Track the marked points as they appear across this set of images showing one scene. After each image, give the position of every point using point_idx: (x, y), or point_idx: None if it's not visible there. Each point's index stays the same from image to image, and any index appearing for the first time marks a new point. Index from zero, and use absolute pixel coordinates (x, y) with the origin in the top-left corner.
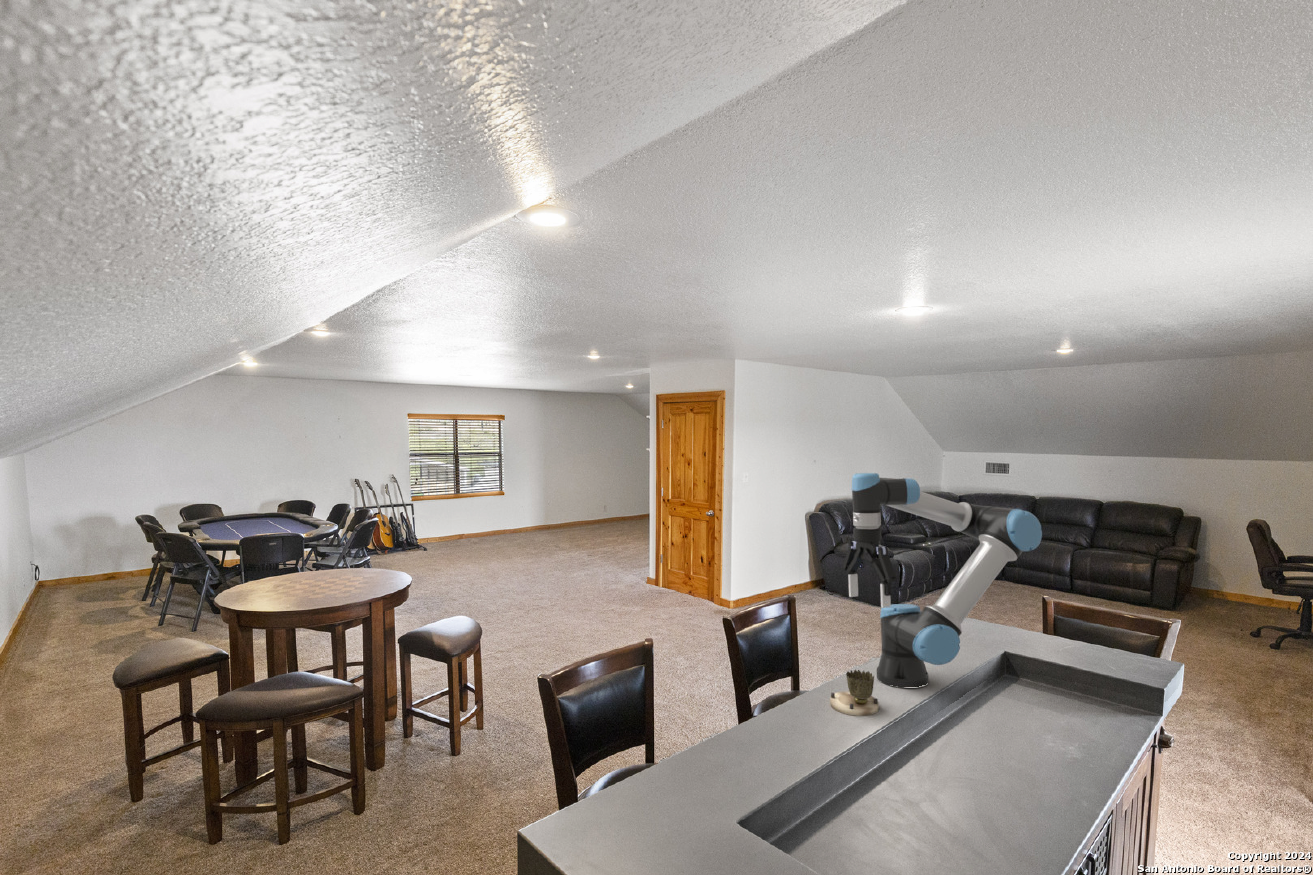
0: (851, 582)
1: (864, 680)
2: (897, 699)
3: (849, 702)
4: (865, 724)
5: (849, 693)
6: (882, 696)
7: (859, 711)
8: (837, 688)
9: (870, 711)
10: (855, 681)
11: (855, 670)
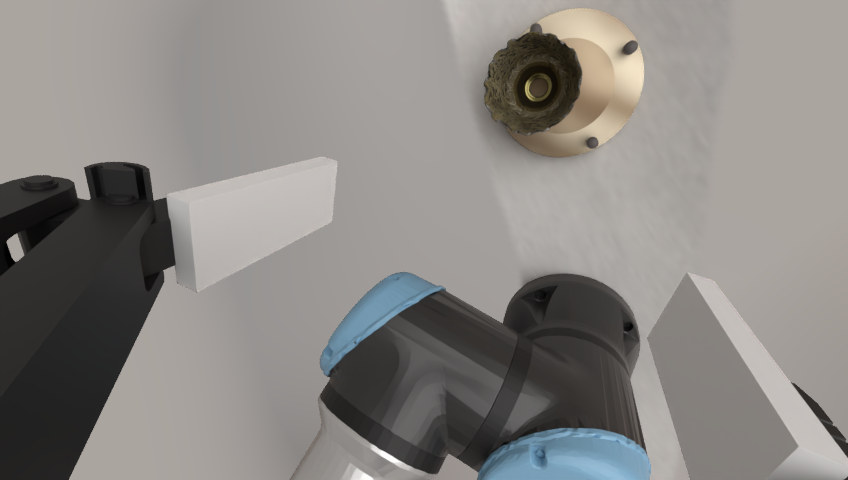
0: (729, 371)
1: (493, 58)
2: (508, 212)
3: None
4: (475, 12)
5: (605, 121)
6: (544, 202)
7: None
8: (681, 157)
9: None
10: (520, 38)
11: (568, 111)
